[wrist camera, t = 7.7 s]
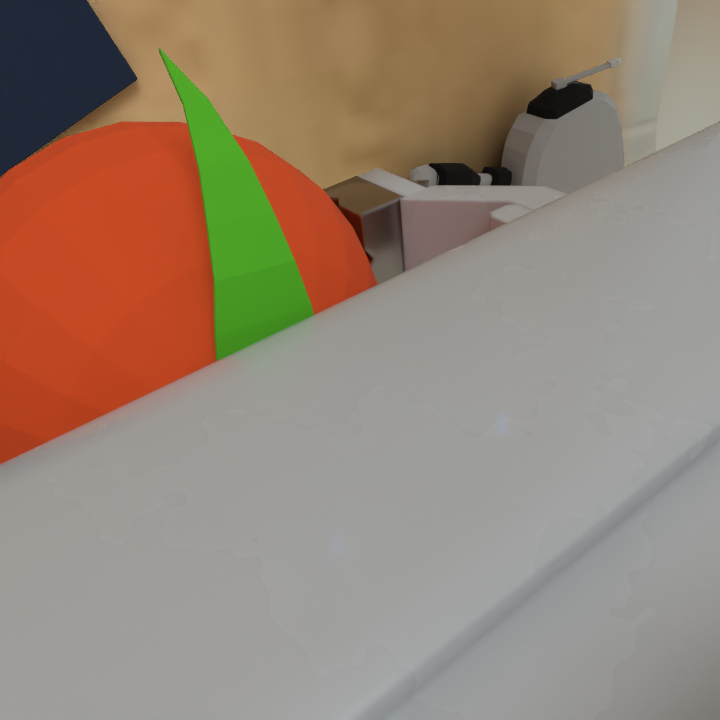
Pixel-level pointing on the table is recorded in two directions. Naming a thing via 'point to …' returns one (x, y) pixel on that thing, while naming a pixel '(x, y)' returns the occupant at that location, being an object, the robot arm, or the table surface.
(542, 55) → the table surface
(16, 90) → the cloth
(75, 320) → the clementine
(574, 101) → the robot toy
